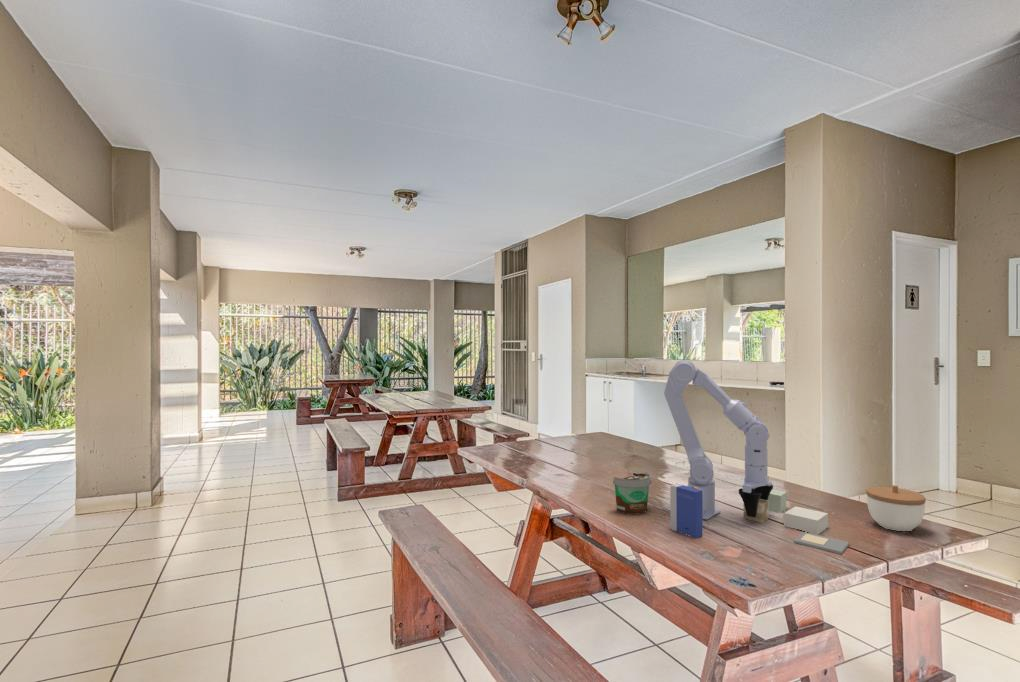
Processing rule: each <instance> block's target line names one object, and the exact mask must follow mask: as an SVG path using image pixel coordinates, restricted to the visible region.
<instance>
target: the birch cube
mask: <svg viewBox="0 0 1020 682" xmlns="http://www.w3.org/2000/svg"><path fill="white" fill-rule="evenodd" d="M769 515H770V511H769V501H768V500H763V499H759V502H758V506H757V514H756V517H750V516H747V514H746V510H745V506H744V505H743V519H745V520H749V521H752V522H753V521H754V522H757V523H762V524H763V523H764V522H765V521H767V520H768V519H769V518H770V516H769Z"/></svg>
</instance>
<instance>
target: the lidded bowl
mask: <svg viewBox="0 0 1020 682" xmlns="http://www.w3.org/2000/svg"><path fill="white" fill-rule="evenodd" d="M865 491H866V504H867V508H868V512H869V514H870V516H871V517H872V519H873V521H875V522H876V523H877V524H878V526H879V525H880V526H882V527H884V528H888V529H894V530H899V531H911V532H913V530H914V529H915V528H917V527H918V526H919V525H920V524H921V523H922V521H923V519H924V517H925V511H926V510H925V509H926V508H925V507H926V497H925V495H923V494H922V493H919V492H917V491H913V490H908V489H905V488H900V487H899V485H894V484H892V485H891V486H871V487H867V488H866V490H865ZM880 526H879V527H880ZM882 527H881V528H882ZM884 528H883V529H884Z"/></svg>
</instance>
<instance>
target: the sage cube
mask: <svg viewBox="0 0 1020 682" xmlns="http://www.w3.org/2000/svg"><path fill="white" fill-rule="evenodd" d="M768 501H769V512H770V511H771V512H775V513H778V512H782V511H783V512H784V511H786V510H785V509H787V492H786V491H782V490H776V489H772V490H771V492H770V494H769V497H768ZM783 512H782V513H783Z"/></svg>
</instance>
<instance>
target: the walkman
mask: <svg viewBox="0 0 1020 682" xmlns="http://www.w3.org/2000/svg"><path fill="white" fill-rule="evenodd" d="M669 502H670V506H669V507H670V508H669V509H670V510H669V513H670V517H669V518H670V519H669V520H670V521H669V524H670V525H669V526H670V530H671V529H673V530H676V531H679V532H682V533H684V534H683V535H685V534H687V535H686V536H688V535H690V536H689V537H691V536H692V537H691V538H693V539H698V538H701V537H703V519H702V490H699V488H696V487H693V488H692V487H688V485H683V484H680V483H675V484H671V485H670V501H669ZM673 530H672V531H673ZM676 531H675V532H676ZM679 532H678V533H679ZM682 533H681V534H682Z"/></svg>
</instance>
